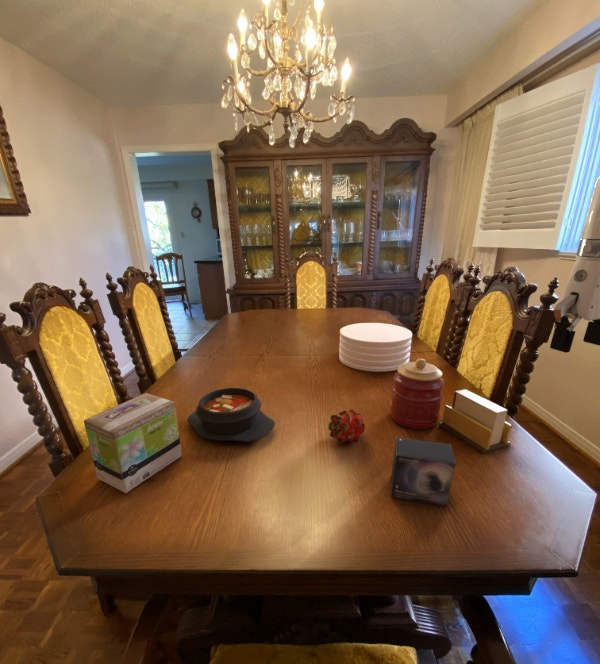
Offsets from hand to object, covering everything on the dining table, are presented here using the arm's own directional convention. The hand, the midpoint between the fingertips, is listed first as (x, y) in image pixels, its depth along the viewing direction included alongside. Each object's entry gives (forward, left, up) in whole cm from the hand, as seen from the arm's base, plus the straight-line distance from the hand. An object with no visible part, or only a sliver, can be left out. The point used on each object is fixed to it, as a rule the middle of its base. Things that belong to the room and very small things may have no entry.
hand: (576, 346), depth 65 cm
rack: (+2, -16, -28) cm, 33 cm away
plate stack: (-7, -74, -28) cm, 80 cm away
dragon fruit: (+32, -28, -28) cm, 51 cm away
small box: (+29, -5, -28) cm, 41 cm away
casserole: (+58, -45, -28) cm, 79 cm away
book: (+2, -16, -27) cm, 32 cm away
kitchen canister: (+10, -29, -28) cm, 42 cm away
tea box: (+80, -36, -28) cm, 92 cm away
